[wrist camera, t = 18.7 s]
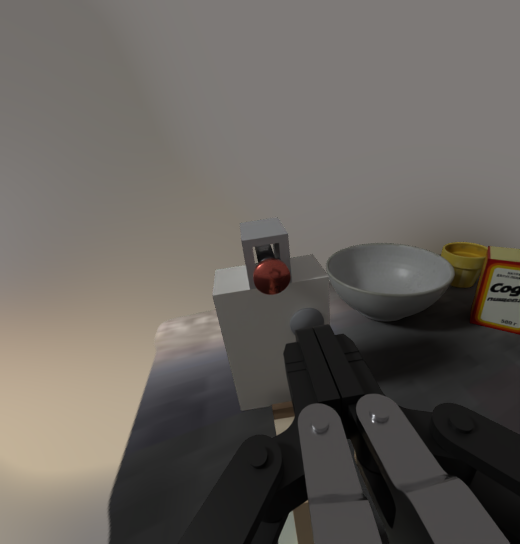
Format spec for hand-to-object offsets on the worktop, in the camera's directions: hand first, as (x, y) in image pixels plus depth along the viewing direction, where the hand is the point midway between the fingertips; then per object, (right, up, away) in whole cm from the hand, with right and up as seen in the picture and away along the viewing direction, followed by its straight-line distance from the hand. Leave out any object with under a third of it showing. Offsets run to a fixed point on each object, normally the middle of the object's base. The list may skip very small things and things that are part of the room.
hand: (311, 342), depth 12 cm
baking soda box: (+50, -8, +46) cm, 68 cm away
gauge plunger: (-1, +3, +25) cm, 25 cm away
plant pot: (+52, 0, +60) cm, 80 cm away
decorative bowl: (+29, -6, +55) cm, 63 cm away
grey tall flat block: (+2, -18, +38) cm, 42 cm away
